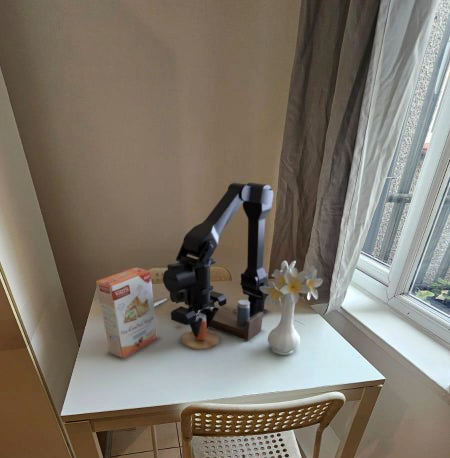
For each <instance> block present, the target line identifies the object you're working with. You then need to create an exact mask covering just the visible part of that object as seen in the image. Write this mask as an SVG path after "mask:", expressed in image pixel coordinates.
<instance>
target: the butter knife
mask: <svg viewBox="0 0 450 458" xmlns="http://www.w3.org/2000/svg"><path fill="white" fill-rule="evenodd" d="M167 300H168V298H164V299H161V300H157V301H155V302H153V304H154V308H155V307H156V306H159V304H162V303H164V302H166V301H167Z"/></svg>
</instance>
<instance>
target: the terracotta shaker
mask: <svg viewBox="0 0 450 458" xmlns="http://www.w3.org/2000/svg"><path fill="white" fill-rule="evenodd" d="M199 317H200V318H202V323H201V327H200V331H199V334H198V337H196V336H194V338H195V339H196V340H204V339H206V338H207V331H208V329H207V319H206V315H205V314H202V313H199Z"/></svg>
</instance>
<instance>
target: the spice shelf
mask: <svg viewBox="0 0 450 458" xmlns="http://www.w3.org/2000/svg"><path fill="white" fill-rule="evenodd" d="M187 306H188V308H189V307H191V306H190V305H187ZM199 313H201V312H199ZM263 316H264V314H263V313H262V312H259V313H257V314H255V315H254V316H252V315H251V317H249V319H248V320H246V326H240V325H238V324H237V313H234V312H230V311H228V310H224V309H220V308H219V310H218V311H217V312H216V314H215V316H214V318H213V319H212V321H211V323H210V325H209V327H208V328H210V329H213V330H216V331H219V332H221V333H225V334H227V335H229V336H233V337H236V338H238V339H241V340H243V341H247V342H249V341H250V340H251V339H253V338H254V337H255V336H257V335H258V334H260V333H261V332H262V325H263Z"/></svg>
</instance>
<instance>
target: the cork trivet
mask: <svg viewBox="0 0 450 458" xmlns="http://www.w3.org/2000/svg"><path fill="white" fill-rule="evenodd" d="M181 341H182V344H183V345H184V346H185V347H186V348H189V349H192V350H197V351H198V350H199V351H201V350H209V349H212V348H214V347H216V346H217V345H218V343H219V336H218V334H217V333H216V332H215V333H214V332H213V331H210V330H207V338H206V339H204V340H196V339H195V338H194V334H193V332H192V330H191V331H188V332H186V333H184V335H182V338H181Z"/></svg>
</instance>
